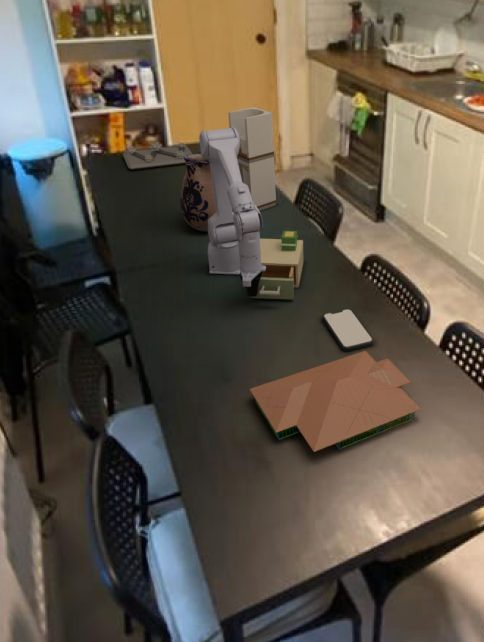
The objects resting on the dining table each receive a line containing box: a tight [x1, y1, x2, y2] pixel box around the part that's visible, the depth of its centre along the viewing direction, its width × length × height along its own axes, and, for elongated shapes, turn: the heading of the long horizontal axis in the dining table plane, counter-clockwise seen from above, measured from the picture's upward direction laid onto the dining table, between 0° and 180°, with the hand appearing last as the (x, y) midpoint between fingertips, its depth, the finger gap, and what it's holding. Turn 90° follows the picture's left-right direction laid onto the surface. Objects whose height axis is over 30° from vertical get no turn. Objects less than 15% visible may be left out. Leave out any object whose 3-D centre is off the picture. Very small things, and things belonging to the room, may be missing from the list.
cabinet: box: [260, 238, 304, 289], centre depth 172 cm, size 16×14×8 cm
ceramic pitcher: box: [179, 151, 216, 233], centre depth 196 cm, size 18×21×25 cm
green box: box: [280, 230, 299, 251], centre depth 171 cm, size 7×4×4 cm, turn 177°
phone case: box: [322, 308, 374, 352], centre depth 149 cm, size 9×2×16 cm
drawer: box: [250, 265, 296, 300], centre depth 164 cm, size 18×12×6 cm, turn 177°
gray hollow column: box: [228, 106, 277, 211], centre depth 209 cm, size 11×11×35 cm
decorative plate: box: [122, 141, 194, 171], centre depth 256 cm, size 30×22×7 cm
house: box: [249, 350, 421, 453], centre depth 123 cm, size 23×33×8 cm
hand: (253, 295), depth 158 cm, fingers closed
